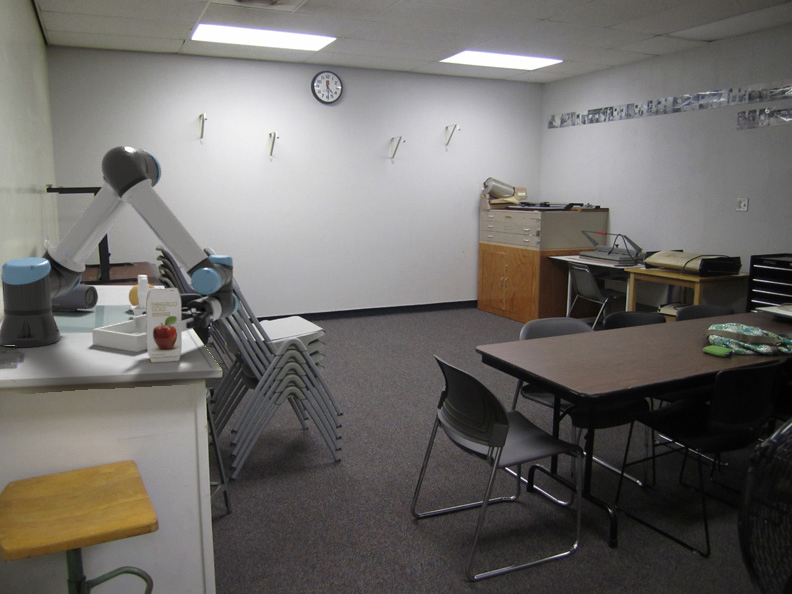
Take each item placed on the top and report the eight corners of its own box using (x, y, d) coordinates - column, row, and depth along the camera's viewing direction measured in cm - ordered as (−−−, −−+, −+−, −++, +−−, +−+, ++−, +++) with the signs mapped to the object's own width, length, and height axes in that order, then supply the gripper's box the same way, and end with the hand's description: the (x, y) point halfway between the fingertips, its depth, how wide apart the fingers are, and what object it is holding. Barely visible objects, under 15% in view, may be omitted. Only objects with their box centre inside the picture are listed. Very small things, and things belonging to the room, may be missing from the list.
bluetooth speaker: (99, 309, 219) (98, 282, 218) (84, 314, 210) (83, 286, 209) (41, 305, 222) (39, 278, 220) (23, 310, 212) (21, 282, 211)
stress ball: (157, 311, 221) (157, 284, 219) (128, 312, 217) (127, 285, 215) (157, 306, 230) (157, 280, 228) (129, 307, 226) (128, 281, 225)
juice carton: (146, 356, 162) (145, 287, 159) (179, 354, 166) (179, 286, 163) (147, 364, 156) (146, 291, 153) (182, 361, 159) (182, 291, 156)
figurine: (152, 314, 216) (151, 273, 213) (156, 319, 208) (155, 276, 205) (130, 315, 212) (129, 273, 210) (133, 320, 204) (132, 277, 202)
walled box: (137, 352, 166) (136, 336, 166) (92, 344, 172) (92, 329, 171) (181, 338, 183) (181, 324, 182) (139, 332, 188) (139, 318, 188)
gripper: (239, 328, 174) (197, 344, 153) (166, 319, 180) (115, 334, 159) (239, 302, 173) (197, 315, 152) (166, 294, 179) (115, 306, 158)
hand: (155, 325), depth 156 cm, fingers open, 12 cm apart
